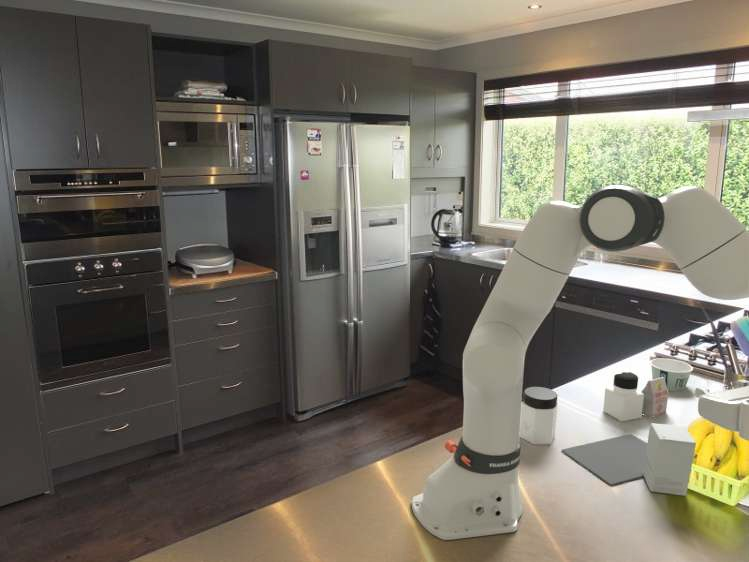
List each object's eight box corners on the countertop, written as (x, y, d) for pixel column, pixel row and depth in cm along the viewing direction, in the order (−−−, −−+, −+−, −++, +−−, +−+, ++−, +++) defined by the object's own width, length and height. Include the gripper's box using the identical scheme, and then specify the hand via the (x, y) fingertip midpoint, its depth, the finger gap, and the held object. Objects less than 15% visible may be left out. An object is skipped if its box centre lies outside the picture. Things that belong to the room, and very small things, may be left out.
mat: (610, 485, 127) (610, 484, 127) (561, 451, 141) (561, 449, 141) (684, 466, 135) (684, 464, 135) (630, 435, 150) (630, 433, 149)
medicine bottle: (641, 418, 159) (646, 376, 157) (621, 422, 157) (626, 380, 154) (622, 407, 166) (626, 367, 163) (602, 411, 163) (606, 370, 160)
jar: (512, 433, 150) (515, 390, 147) (535, 426, 154) (538, 383, 151) (538, 448, 142) (542, 403, 140) (562, 440, 146) (566, 396, 144)
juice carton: (638, 412, 163) (642, 378, 160) (654, 407, 166) (658, 374, 164) (650, 417, 160) (654, 383, 157) (665, 412, 163) (670, 378, 161)
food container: (658, 374, 190) (660, 355, 189) (697, 385, 182) (700, 366, 180) (640, 383, 183) (642, 363, 182) (680, 395, 174) (682, 375, 173)
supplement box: (687, 496, 123) (697, 443, 120) (649, 491, 125) (658, 438, 121) (676, 476, 130) (686, 425, 127) (641, 472, 132) (649, 421, 128)
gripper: (835, 387, 101) (762, 363, 114) (740, 406, 95) (675, 379, 108) (831, 421, 102) (760, 394, 115) (738, 442, 96) (674, 411, 110)
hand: (718, 387), depth 112 cm, fingers open, 8 cm apart
